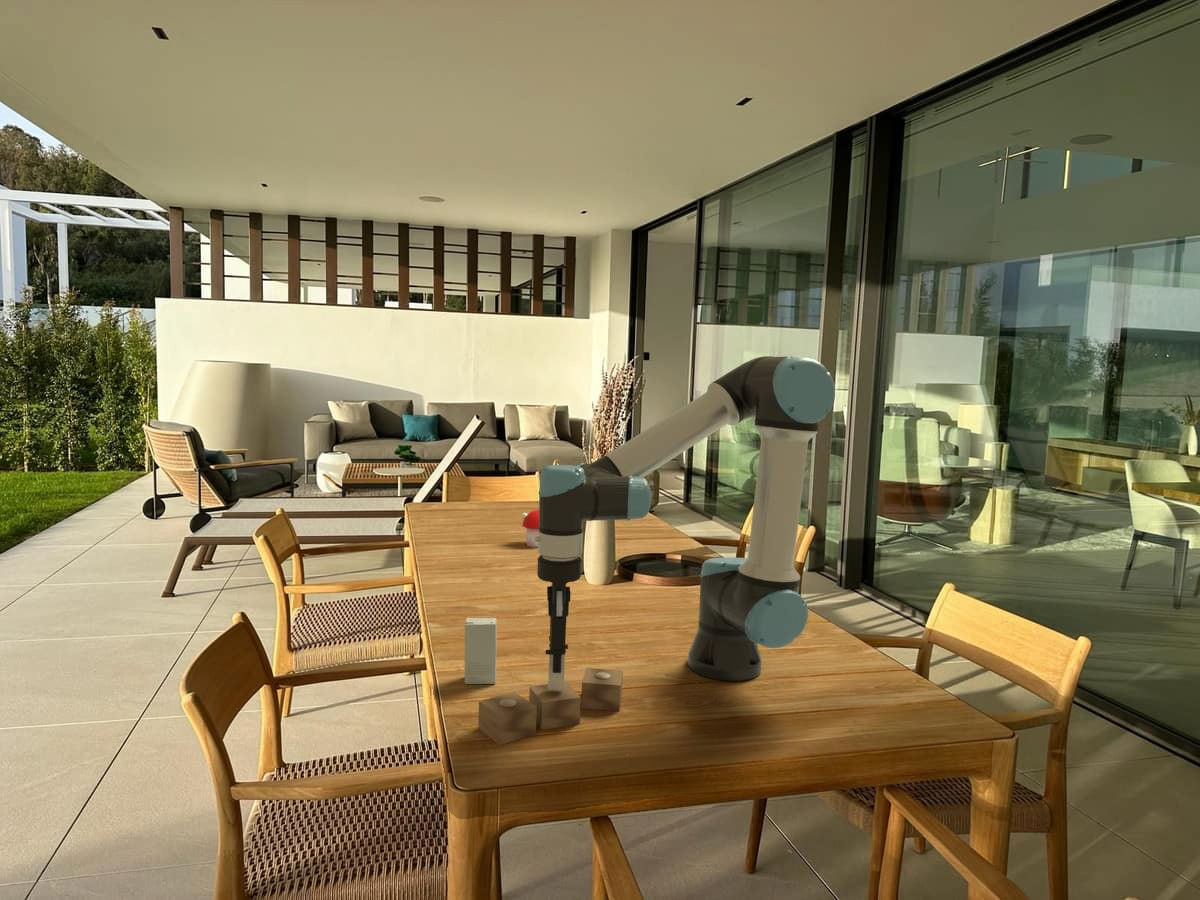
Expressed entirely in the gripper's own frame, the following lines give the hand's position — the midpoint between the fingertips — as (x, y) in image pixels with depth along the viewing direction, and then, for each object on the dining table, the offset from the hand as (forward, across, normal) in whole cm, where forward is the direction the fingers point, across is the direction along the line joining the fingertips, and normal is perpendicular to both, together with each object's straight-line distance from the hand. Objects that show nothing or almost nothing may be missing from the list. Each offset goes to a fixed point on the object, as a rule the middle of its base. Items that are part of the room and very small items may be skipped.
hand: (555, 687), depth 140 cm
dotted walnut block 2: (+6, -7, +9) cm, 13 cm away
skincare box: (+6, -16, -14) cm, 22 cm away
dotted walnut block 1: (+6, +5, -8) cm, 11 cm away
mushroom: (+6, -130, -3) cm, 130 cm away
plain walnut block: (+6, 0, 0) cm, 6 cm away
